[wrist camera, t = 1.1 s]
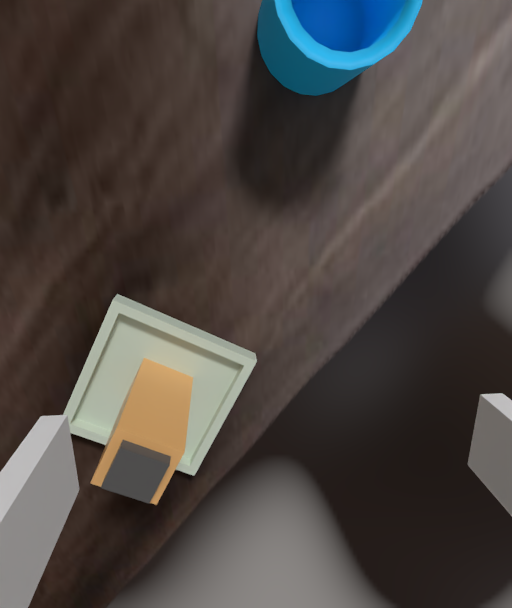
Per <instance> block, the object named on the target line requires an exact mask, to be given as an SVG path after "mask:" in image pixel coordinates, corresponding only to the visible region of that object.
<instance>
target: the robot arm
mask: <svg viewBox="0 0 512 608" xmlns="http://www.w3.org/2000/svg"><path fill="white" fill-rule="evenodd" d="M468 466H469V467H470V468H471V469H472V470H473V471H474V473H475V474H476V475H477V476H478V477H479V478H480V480H481V481H482V482H483V483H484V484H485V485H486V487H487V488H488V489H489V490H490V491H491V492H492V493H493V495H494V496H495V497H496V498H497V499H498V501H499V502H500V503H501V504H502V505H503V506H504V508H505V509H506V510H507V511H508V512H509V513H510V515H511V516H512V400H510V399H509V398H508V397H506V396H505V395H504V394H502V393H500V394H481V395H480V399H479V405H478V410H477V416H476V421H475V427H474V433H473V438H472V443H471V449H470V454H469V460H468ZM78 492H79V484H78V478H77V471H76V465H75V459H74V453H73V447H72V441H71V434H70V428H69V422H68V416H67V415H57V416H41V417H40V418H39V420H38V421H37V423H36V424H35V425H34V427H33V428H32V429H31V431H30V432H29V434H28V435H27V436H26V438H25V439H24V440H23V442H22V443H21V445H20V446H19V447H18V449H17V450H16V451H15V453H14V454H13V456H12V457H11V458H10V460H9V461H8V462H7V464H6V465H5V467H4V468H3V469H2V471H1V472H0V608H28V606H29V604H30V601H31V599H32V597H33V595H34V592H35V590H36V588H37V585H38V583H39V581H40V578H41V576H42V574H43V572H44V569H45V567H46V565H47V562H48V560H49V558H50V556H51V553H52V551H53V549H54V546H55V544H56V542H57V540H58V537H59V535H60V533H61V530H62V528H63V526H64V524H65V521H66V519H67V517H68V514H69V512H70V510H71V508H72V505H73V503H74V501H75V498H76V496H77V494H78Z"/></svg>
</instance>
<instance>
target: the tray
mask: <svg viewBox="0 0 512 608" xmlns="http://www.w3.org/2000/svg"><path fill="white" fill-rule="evenodd" d="M144 358H146V359H149V360H151V361H154V362H156V363H159V364H161V365H164V366H166V367H169V368H171V369H174V370H176V371H179V372H181V373H184V374H186V375H189V376H191V377H193V383H192V392H191V401H190V410H189V419H188V427H187V436H186V445H185V452H184V454H183V456H182V458H181V460H180V462H179V464H178V465H177V467H176V470H179V471H182V472H185V473H187V474H190V475H193V476H194V475H195V474H196V472H197V470H198V468H199V466H200V464H201V463H202V461H203V459H204V457H205V455H206V454H207V452H208V450H209V448H210V446H211V444H212V443H213V441H214V439H215V437H216V435H217V433H218V432H219V430H220V428H221V426H222V424H223V423H224V421H225V419H226V417H227V415H228V413H229V412H230V410H231V408H232V406H233V404H234V402H235V401H236V399H237V397H238V395H239V393H240V392H241V390H242V388H243V386H244V384H245V382H246V381H247V379H248V377H249V375H250V373H251V371H252V370H253V368H254V366H255V364H256V362H257V359H256V354H255V353H253V352H251V351H249V350H246V349H244V348H242V347H239V346H237V345H235V344H232V343H230V342H228V341H225V340H223V339H221V338H218V337H216V336H214V335H211V334H209V333H207V332H205V331H202V330H200V329H198V328H195V327H193V326H191V325H188V324H186V323H184V322H181V321H179V320H177V319H174V318H172V317H170V316H167V315H165V314H163V313H161V312H158V311H156V310H154V309H151V308H149V307H147V306H144V305H142V304H140V303H137V302H135V301H133V300H130V299H128V298H126V297H123V296H121V295H119V294H117V295H116V296H115V298H114V299H113V300H112V303H111V305H110V307H109V310H108V312H107V314H106V317H105V319H104V321H103V324H102V326H101V328H100V331H99V333H98V335H97V338H96V340H95V342H94V344H93V347H92V349H91V351H90V354H89V356H88V358H87V361H86V363H85V365H84V368H83V370H82V372H81V375H80V377H79V379H78V382H77V384H76V386H75V388H74V391H73V393H72V395H71V398H70V400H69V402H68V405H67V407H66V409H65V412H64V414H63V415H67V416H68V422H69V428H70V433H72V434H75V435H78V436H81V437H84V438H87V439H90V440H92V441H95V442H98V443H101V444H104V445H106V443H107V441H108V438H109V436H110V433H111V431H112V428H113V426H114V424H115V421H116V419H117V416H118V414H119V411H120V409H121V406H122V404H123V401H124V399H125V397H126V395H127V393H128V391H129V388H130V386H131V384H132V382H133V380H134V378H135V376H136V374H137V371H138V369H139V367H140V365H141V363H142V361H143V359H144Z"/></svg>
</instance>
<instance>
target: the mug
mask: <svg viewBox="0 0 512 608" xmlns="http://www.w3.org/2000/svg"><path fill="white" fill-rule="evenodd" d="M421 5H422V0H262V3H261V7H260V11H259V14H258V30H257V38H258V42H259V47H260V52H261V56H262V58H263V60H264V62H265V64H266V66H267V68H268V69H269V71H270V73H271V74H272V75H273V76H274V77H275V78H276V79H277V80H278V81H279V82H280V83H281V84H282V85H283V86H284V87H286V88H288V89H290V90H292V91H294V92H296V93H299V94H304V95H314V96H318V95H322V94H326V93H329V92H333V91H335V90H336V89H338V88H339V87H341V86H343V85H344V84H346V83H347V82H349V81H350V80H352V79H353V78H354V77H356V76H357V75H359V74H360V73H362V72H363V71H365V70H366V69H368V68H369V67H371V66H372V65H374V64H375V63H377V62H378V61H379V60H381V59H382V58H384V57H385V56H387V55H388V54H390V53H391V52H393V51H394V50H395V49H396V47H397V46H398V45H399V44H400V43H401V41H402V40H403V39H404V38H405V36H406V35H407V34H408V33H409V32H410V30H411V28H412V26H413V23H414V21H415V19H416V17H417V14H418V12H419V10H420V8H421Z"/></svg>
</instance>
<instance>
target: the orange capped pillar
mask: <svg viewBox="0 0 512 608" xmlns="http://www.w3.org/2000/svg"><path fill="white" fill-rule="evenodd" d="M192 383H193V377H191V376H189V375H186V374H184V373H181V372H179V371H176V370H174V369H171V368H169V367H166V366H164V365H161V364H159V363H156V362H154V361H151V360H149V359H146V358H144V359H143V361H142V363H141V365H140V367H139V369H138V371H137V374H136V376H135V378H134V380H133V382H132V384H131V386H130V388H129V391H128V393H127V395H126V397H125V399H124V401H123V404H122V406H121V409H120V411H119V414H118V416H117V419H116V421H115V424H114V426H113V428H112V431H111V433H110V436H109V438H108V441H107V443H106V446H105V448H104V451H103V453H102V456H101V458H100V461H99V463H98V466H97V468H96V470H95V473H94V475H93V478H92V480H91V484H94V485H97V486H100V487H101V488H102V489H105V490H108V491H112V492H115V493H118V494H121V495H124V496H127V497H130V498H133V499H136V500H139V501H143V502H146V503H153V504H156V505H157V503H158V501H159V499H160V497H161V496H162V494H163V492H164V490H165V488H166V486H167V484H168V482H169V481H170V479H171V477H172V475H173V473H174V471H175V469H176V467H177V465H178V464H179V462H180V460H181V458H182V456H183V454H184V452H185V445H186V436H187V427H188V419H189V410H190V401H191V392H192Z"/></svg>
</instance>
